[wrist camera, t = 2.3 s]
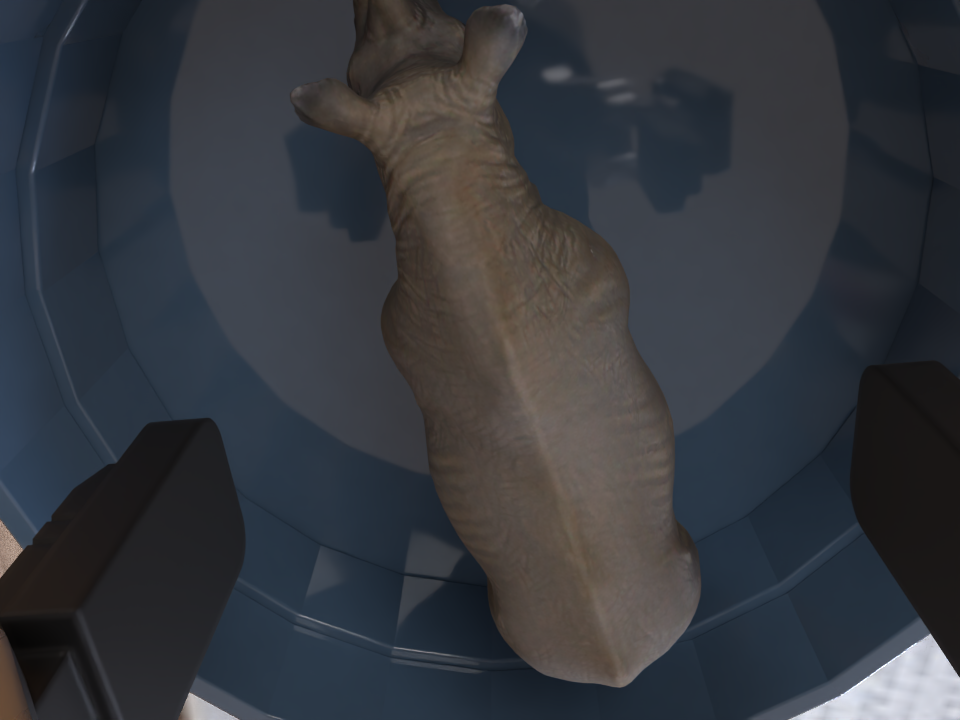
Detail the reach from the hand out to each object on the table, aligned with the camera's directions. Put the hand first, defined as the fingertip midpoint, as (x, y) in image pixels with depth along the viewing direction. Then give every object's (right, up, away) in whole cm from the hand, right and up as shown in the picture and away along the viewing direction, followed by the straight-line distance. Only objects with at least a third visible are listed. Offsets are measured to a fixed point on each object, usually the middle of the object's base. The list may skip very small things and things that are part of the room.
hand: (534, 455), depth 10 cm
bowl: (0, +3, +6) cm, 7 cm away
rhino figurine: (0, +3, +6) cm, 7 cm away
